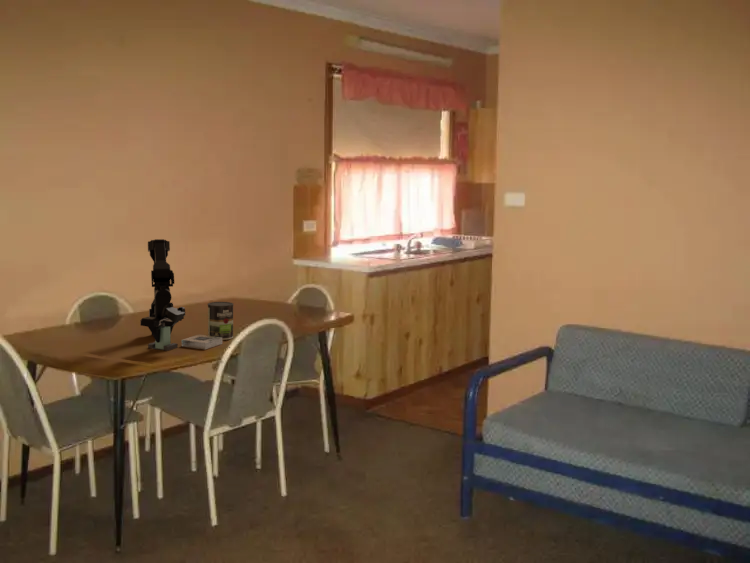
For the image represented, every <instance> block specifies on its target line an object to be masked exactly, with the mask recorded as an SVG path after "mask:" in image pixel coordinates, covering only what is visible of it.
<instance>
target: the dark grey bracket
mask: <svg viewBox="0 0 750 563" xmlns="http://www.w3.org/2000/svg"><path fill="white" fill-rule="evenodd" d="M147 345H148V346H147V347H148V349H153V350H159V351H166V352H168V351H171V350H174V349H178V346H179V345H178V343H175V342H173V343H171V344H169V345H166V346H164V349H158V348H155V341H153V342H149V343H148V344H147Z"/></svg>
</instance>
